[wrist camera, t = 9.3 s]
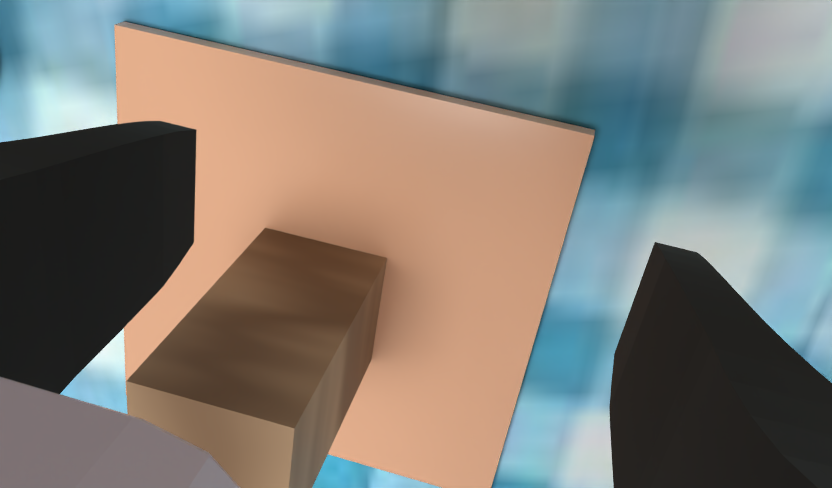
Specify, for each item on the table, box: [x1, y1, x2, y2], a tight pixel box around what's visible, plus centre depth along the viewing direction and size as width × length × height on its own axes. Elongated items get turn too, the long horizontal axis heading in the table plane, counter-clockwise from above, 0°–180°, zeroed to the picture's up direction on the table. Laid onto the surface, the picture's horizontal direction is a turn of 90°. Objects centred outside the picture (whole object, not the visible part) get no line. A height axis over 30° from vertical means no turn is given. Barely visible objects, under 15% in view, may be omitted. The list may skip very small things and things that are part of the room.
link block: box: [126, 228, 387, 488], centre depth 21 cm, size 4×4×8 cm
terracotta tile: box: [115, 21, 595, 488], centre depth 25 cm, size 14×14×1 cm
